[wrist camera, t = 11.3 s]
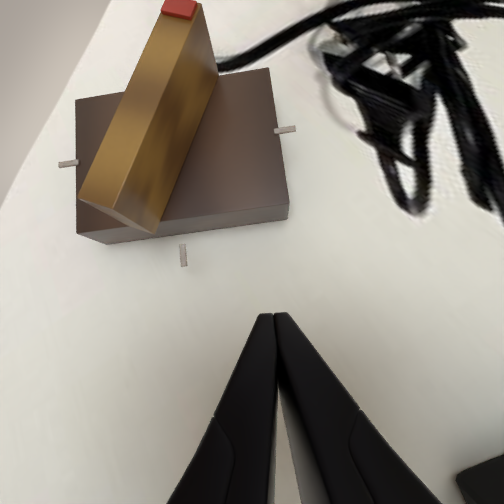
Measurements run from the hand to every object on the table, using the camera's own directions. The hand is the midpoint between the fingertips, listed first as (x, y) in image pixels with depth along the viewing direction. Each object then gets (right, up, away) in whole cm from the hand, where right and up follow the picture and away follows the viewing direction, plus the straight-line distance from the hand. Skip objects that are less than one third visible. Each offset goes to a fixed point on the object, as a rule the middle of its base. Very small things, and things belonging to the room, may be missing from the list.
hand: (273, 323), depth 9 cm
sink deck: (-6, +8, +15) cm, 18 cm away
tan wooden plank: (-6, +9, +11) cm, 16 cm away
